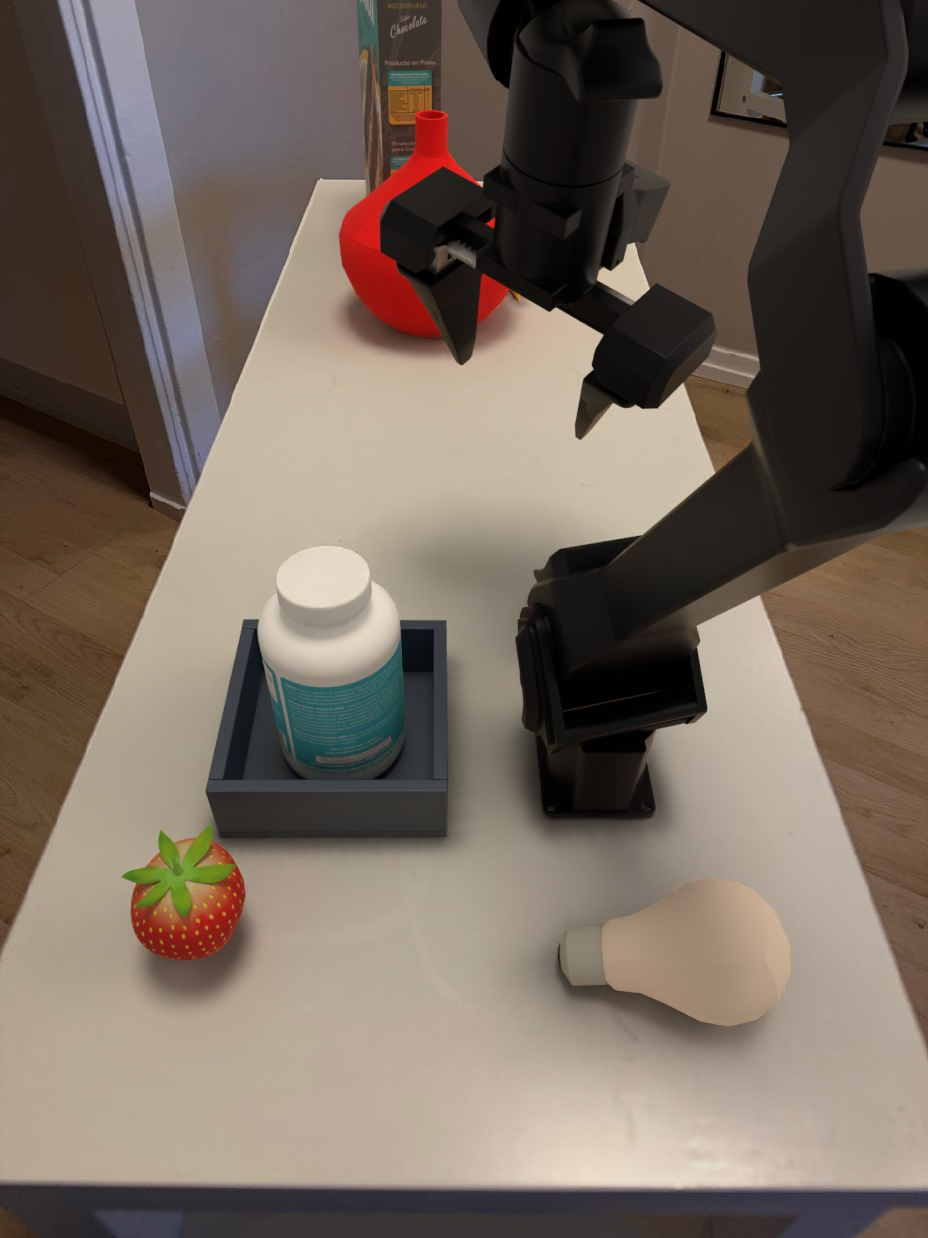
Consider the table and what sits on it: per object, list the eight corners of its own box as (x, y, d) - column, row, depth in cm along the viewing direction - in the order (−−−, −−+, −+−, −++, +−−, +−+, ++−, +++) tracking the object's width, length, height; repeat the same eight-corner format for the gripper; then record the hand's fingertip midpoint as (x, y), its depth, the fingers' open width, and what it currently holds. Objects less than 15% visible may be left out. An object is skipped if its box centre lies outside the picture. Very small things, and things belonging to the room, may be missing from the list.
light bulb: (541, 975, 38) (803, 966, 36) (547, 859, 44) (775, 844, 41) (566, 1059, 42) (807, 1056, 39) (569, 941, 47) (781, 932, 45)
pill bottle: (430, 733, 53) (430, 568, 43) (348, 816, 49) (327, 654, 39) (340, 675, 56) (321, 509, 47) (255, 748, 52) (214, 582, 42)
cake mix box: (366, 206, 113) (351, -89, 92) (412, 205, 114) (408, -89, 93) (386, 280, 98) (374, -53, 77) (439, 277, 99) (442, -53, 78)
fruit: (246, 991, 42) (218, 916, 37) (140, 989, 42) (95, 913, 37) (265, 889, 46) (242, 806, 40) (168, 886, 46) (131, 803, 40)
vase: (338, 358, 86) (321, 146, 72) (349, 277, 98) (336, 84, 85) (524, 359, 86) (541, 150, 73) (511, 279, 99) (523, 88, 86)
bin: (446, 836, 49) (447, 791, 45) (219, 837, 48) (204, 792, 45) (445, 667, 57) (446, 619, 54) (253, 667, 57) (243, 618, 54)
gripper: (820, 163, 41) (716, 402, 55) (510, 16, 46) (484, 267, 60) (701, 273, 36) (619, 506, 50) (369, 95, 42) (375, 349, 55)
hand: (521, 396), depth 54 cm, fingers open, 9 cm apart
